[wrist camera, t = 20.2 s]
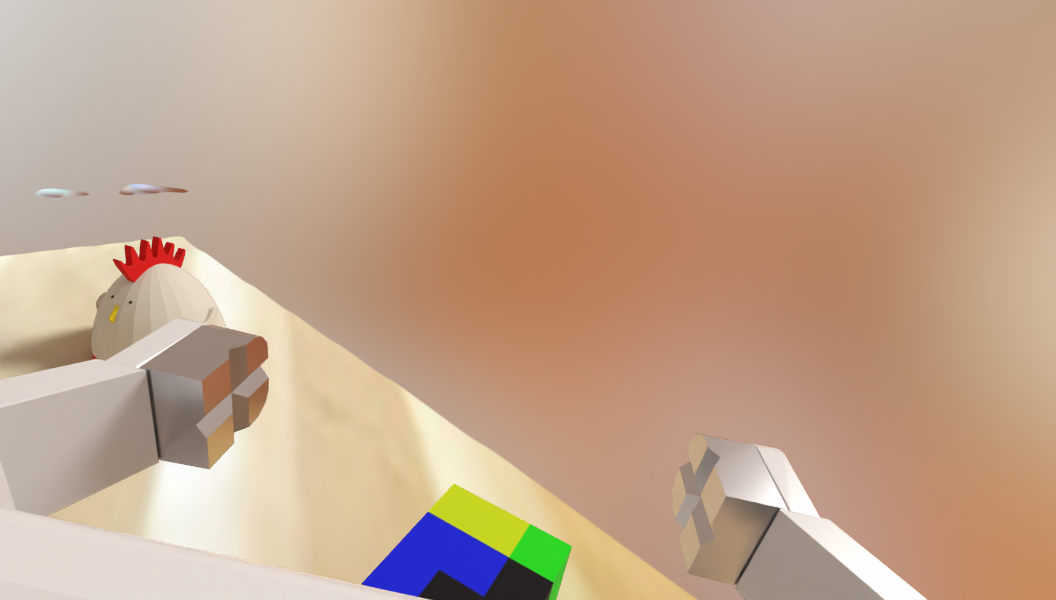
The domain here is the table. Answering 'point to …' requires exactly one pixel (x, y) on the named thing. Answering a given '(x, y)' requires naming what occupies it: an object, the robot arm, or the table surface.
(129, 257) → the kitchen timer
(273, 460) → the table surface
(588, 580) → the table surface
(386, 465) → the table surface
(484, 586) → the puzzle toy
